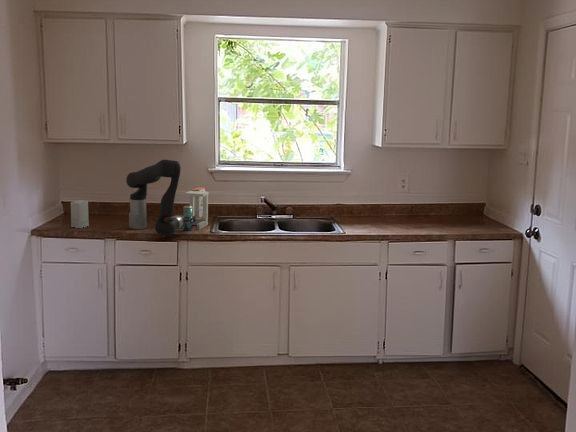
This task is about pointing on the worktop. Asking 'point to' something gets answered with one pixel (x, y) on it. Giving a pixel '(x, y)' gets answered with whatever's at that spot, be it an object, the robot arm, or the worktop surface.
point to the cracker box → (198, 203)
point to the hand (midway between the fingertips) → (186, 217)
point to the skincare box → (79, 214)
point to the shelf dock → (204, 221)
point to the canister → (187, 214)
